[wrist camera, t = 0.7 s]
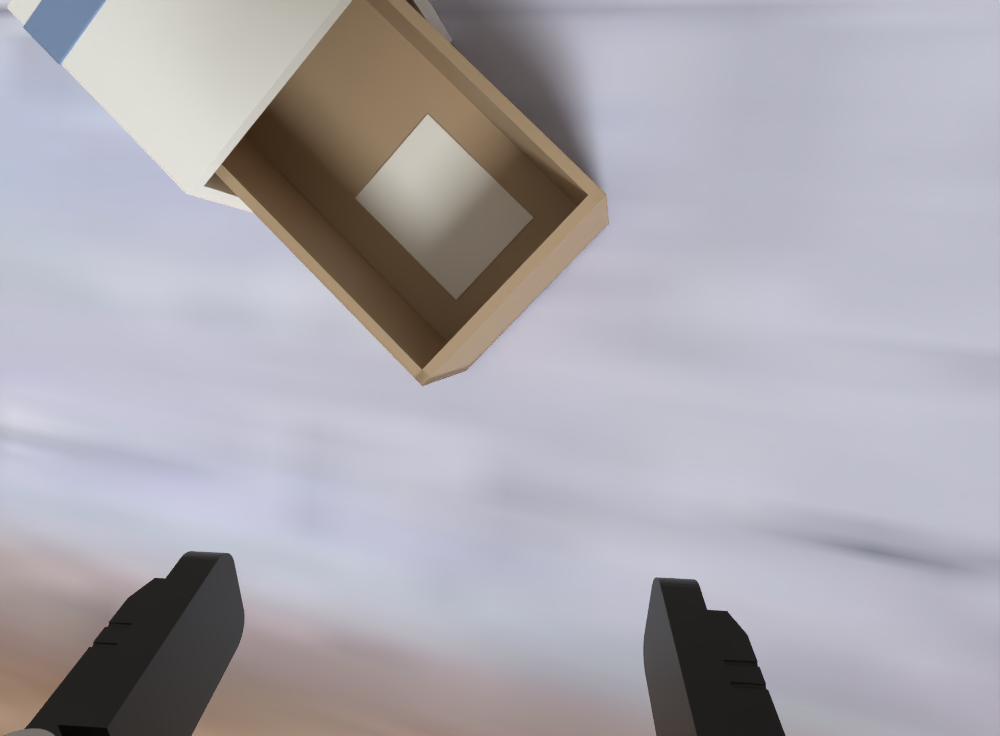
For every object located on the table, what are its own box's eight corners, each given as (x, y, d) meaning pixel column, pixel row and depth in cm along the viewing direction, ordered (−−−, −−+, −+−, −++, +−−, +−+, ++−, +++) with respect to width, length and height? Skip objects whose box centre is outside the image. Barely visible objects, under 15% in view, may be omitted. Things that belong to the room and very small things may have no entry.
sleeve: (453, 39, 34) (391, -68, 25) (295, 225, 36) (184, 194, 27) (303, -107, 35) (187, -264, 25) (158, 85, 37) (3, 7, 28)
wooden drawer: (608, 223, 33) (606, 194, 25) (465, 370, 35) (422, 386, 27) (297, -79, 35) (204, -194, 27) (178, 78, 37) (59, 13, 29)
